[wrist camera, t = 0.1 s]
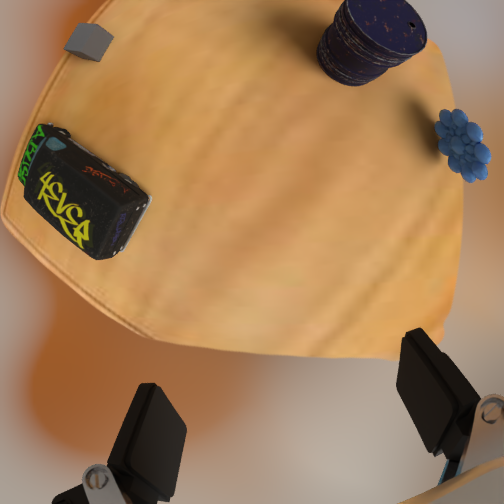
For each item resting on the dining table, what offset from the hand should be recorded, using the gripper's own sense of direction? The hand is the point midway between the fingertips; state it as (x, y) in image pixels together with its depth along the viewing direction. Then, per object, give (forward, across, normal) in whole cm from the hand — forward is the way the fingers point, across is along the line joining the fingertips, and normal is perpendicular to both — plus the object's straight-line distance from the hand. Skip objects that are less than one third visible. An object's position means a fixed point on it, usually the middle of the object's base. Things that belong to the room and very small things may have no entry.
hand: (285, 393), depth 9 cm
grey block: (+31, +19, -36) cm, 52 cm away
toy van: (+32, +26, -13) cm, 43 cm away
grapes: (+31, -33, -6) cm, 46 cm away
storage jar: (+31, -18, -22) cm, 42 cm away
